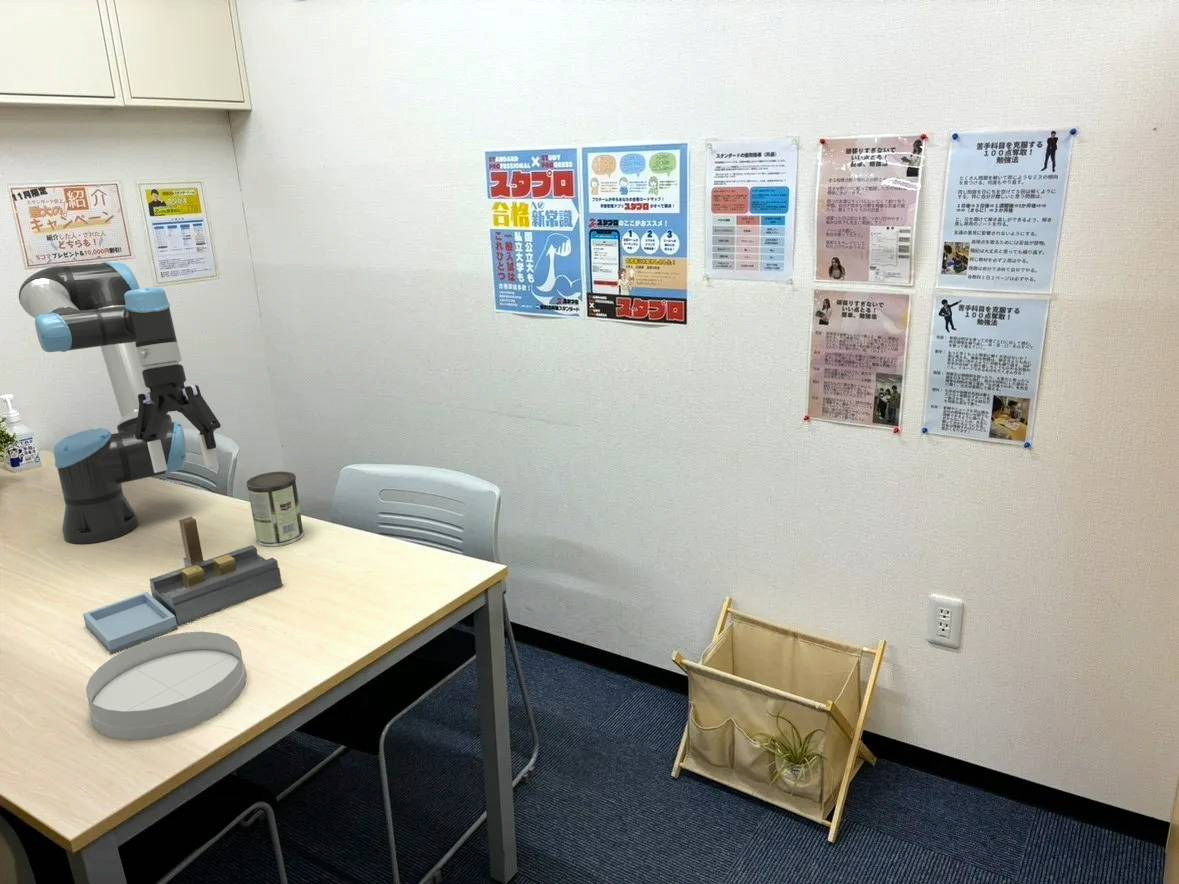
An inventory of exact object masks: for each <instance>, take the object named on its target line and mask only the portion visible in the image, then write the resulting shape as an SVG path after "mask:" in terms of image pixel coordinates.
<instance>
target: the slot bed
mask: <svg viewBox="0 0 1179 884" xmlns="http://www.w3.org/2000/svg"><path fill="white" fill-rule="evenodd" d="M225 555H230V556H231V557H233V558H234V559H235V564H236V569H237V570H236V571H233V572H230V573H227V574H224V575H222V576H218V575H217V574H215V569H214V564H213V559H216V558H219V557H222V556H225ZM195 565H198V566H199V567H201V568H202V569H203V570H204V575H205V580H206V581H204V582H202V583H199V584H196V585H193V586H190V587H186V586H185V585H184V584H183V578H182V573H181V570H183V569H186V568H189V567H192V566H195ZM149 584H150V585H149V588H150V592H151V596H152V597H153V598H154V599H156V600H157V601H158V602H159V603H160V604H161V605H163V606H164V607H165V608H166V609H167V610H168V611H169V612H171V613H172V614H173V615H174V616H175V618H176V623H177V627H178V626H179V627H180V626H181V625H184V624H186V623H189V622H192V621H195V620H197V619H200V618H203V617H205V616H208V615H210V614H211V615H212V614H214V613H216V612H218V611H222V610H223V609H226V608H229V607H231V606H234V605H237V604H239V603H242V602H245V601H246V600H250V599H253V598H256V597H258V596H260V595H263V594H266V593H269V592H271V591H274V590H276V589H279V588H282V587H283V583H282V574H281V569H280V567H279V564H278V560H277V559H276V558H275V557H269V558H267V559H265V558H264V557H262V556H261V555H259V554H258V549H257V547H256V546H254V545H248V546H245V547H242V548H238V549H237V550H232V551H230V552H227V553H224V554H221V555H218V556H215V557H212V558H209V559H206V560H204V561H203V562H200V563H197V564H194V565H191V566H188V567H185V566H184V567H182V568H179V569H177V570H174V571H173V570H172V571H170V572H167V573H164V574H161V575H158V576H155V577H151V578H149Z"/></svg>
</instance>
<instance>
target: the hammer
mask: <svg viewBox="0 0 1179 884" xmlns="http://www.w3.org/2000/svg"><path fill="white" fill-rule="evenodd" d="M178 523H179V528H180V533H181V539H182V544H183V548H184V555H185V557H183V563H184V568H185V567H188V566H191V565H194V564H197V563H200V562H203V561H205V560H204V556H203V551H202V546H201V540H200V536H199V531H198V524H197V520H196V519H195V518H194V517H193V516H189V517H185V518H183V519H179V520H178Z"/></svg>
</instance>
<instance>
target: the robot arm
mask: <svg viewBox="0 0 1179 884" xmlns="http://www.w3.org/2000/svg"><path fill="white" fill-rule="evenodd" d="M18 300H19V304H20V305H21V307H22V309H23V310H24V311H25V313H26V314H28V315H29V316H31V317H32V318H34V326H35V331H36V335H37V339H38V343H39V344H40V347H41V349H42V350H43V351H44V352H46V353H56V352H62V353H65V352H68V351H77V350H82V349H89V348H96V347H97V348H99V347H100V349H101V353H102V357H103V359H104V360H103V361H104V362H105V363H104V364H105V365H106V366H105V367H106V369H107V373H108V377H109V379H110V382H111V383H110V384H111V386H112V390H113V394H114V397H115V400H116V403H117V407H118V410H119V413H120V416H121V417H120V418H121V419H120V421H119V422H118V424H117V425H116V429H117V432H116V433H112V432H111V431H110V430H109V429H107V428H103V427H101V428H92V429H87V430H84V431H79V432H76V433H73V434H71V435H67V436H66V437H64V438H63V439H61V440H60V441H57V443H56V444H55V445H54V447H53V457H54V465H55V468H56V469H57V472H58V473H57V474H58V477H59V482H60V487H61V490H62V491H61V492H62V496H63V500H64V504H65V507H64V515H63V520H62V521H63V522H62V531H61V532H62V534H63V539H64V540H65V542H67V543H71V544H93V543H101V542H105V541H109V540H112V539H115V538H119V537H122V536H124V535H126V534H128V533H130V532H132V531H134V530H135V529H136V528H137V526H138V524H139V521H138V516H137V512H136V511H135V510H134V509H133V507H132V505H131V504H130V502H129V500H128V499H127V497H126V495H124V491H123V487H122V484H123V483H128V482H134V481H138V480H142V479H146V478H152V477H155V476H161V475H167V474H169V473H174V472H176V471H180V470H181V469H182V468H184V466H185V464H186V459H187V446H186V438H185V432H184V428H183V426H182V424H181V423H182V422H180V421H173V420H172V417H171V415H170V412H177V413H181V414H182V416H184V417H185V418H186V420H187V421H189V422H190V423H191V424H192V425H193V426H194V427H195V429H197V430H198V431H199V433H198V435H197V436H198V437H197V438H198V441H199V444H200V446H199V447H200V450H201V454H202V458H203V463H204V466H205V467H206V468H207V467H208V468H209V467H213V466H216V465H218V464H219V461H218V455H217V452H216V448H217V444H216V440H215V434H214V433H215V431H217V429H220V428H221V425H222V424H221V422H220V421H219V419H218V418H217V417H216V415H215V414H214V412H213V411H212V409H211V407H210V406H209V405H208V404H207V401H206V400H205V399H204V397H203V395H202V393H201V391H200V387H199V385H197V384H195V385H194V384H192V385H187V386H185V382H187V377H186V373H185V369H184V366H183V365H182V364H180V362H182V355H181V352H180V348H179V344H178V340H177V336H176V331H175V326H174V322H173V317H172V312H171V308H170V306H171V304H170V302H169V301H168V297H167V293H166V291H165V289H163V288H162V287H142V288H141V287H140V286H139V283H138V281H137V278H136V277H135V275H134V272H133V271H132V270H131V268H130V267H129V266H128V265H126V264H125V263H123V262H107V261H103V262H99V263H87V264H75V265H74V264H73V265H63V266H61V265H58V266H57V265H56V266H50V267H47V268H44V269H41V270H38V271H36V272H35V273H33V274H32V275H30V276H28V277H27V278H26V279H25V281H23V283H22V284H21V286H20V288H19V291H18Z"/></svg>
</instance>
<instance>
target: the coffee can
mask: <svg viewBox="0 0 1179 884" xmlns="http://www.w3.org/2000/svg"><path fill="white" fill-rule="evenodd" d="M296 477H297V476H296V474H295V473H293V472H289V471H270V472H265V473H261V474H257V475H255V476H253V477H251V478H249V479H248V480H247V481H246V483H245V484H246V487H247V492H248V497H249V498H248V499H249V504H250V511H251V515H252V521H253V527H254V532H255V538H256V543H257V544H258V545H259V546H261V547H281V546H286V545H289V544H292V543H295V542H296V541H299V540H300V539H302V538H303V536H304V533H305V532H304V527H303V522H302V515H301V509H300V503H299V502H300V501H299V496H298V495H299V494H298V489H297V488H298V487H297V482H296V481H297V478H296Z"/></svg>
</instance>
